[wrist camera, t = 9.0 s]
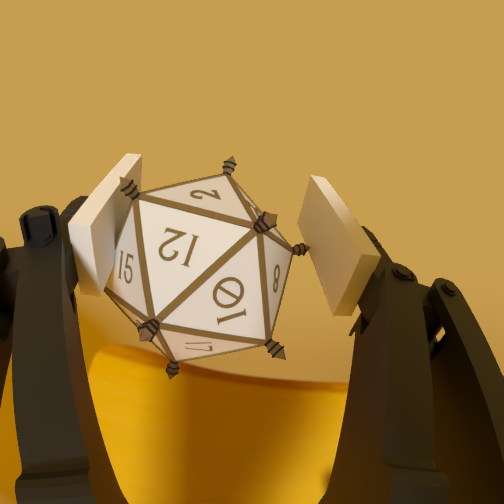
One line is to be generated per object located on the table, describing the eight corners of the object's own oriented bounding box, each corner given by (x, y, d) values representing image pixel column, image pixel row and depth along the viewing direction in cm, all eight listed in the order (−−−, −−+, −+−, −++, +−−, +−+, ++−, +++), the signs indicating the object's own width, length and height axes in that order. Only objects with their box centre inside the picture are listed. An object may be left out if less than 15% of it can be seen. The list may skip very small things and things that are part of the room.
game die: (188, 345, 18) (232, 190, 19) (303, 408, 13) (363, 199, 13) (48, 333, 12) (106, 125, 12) (126, 457, 6) (234, 71, 7)
